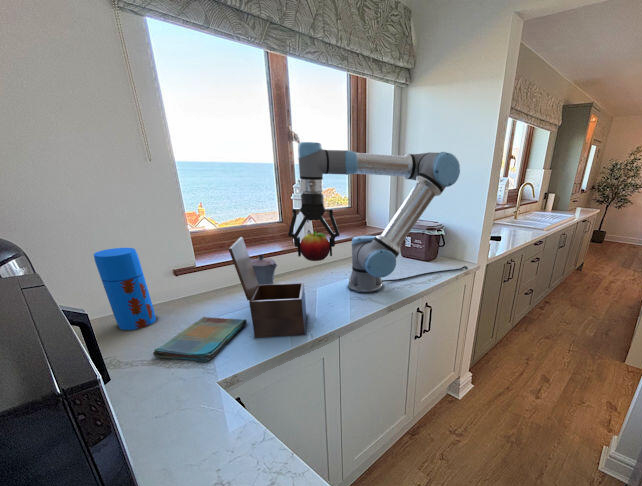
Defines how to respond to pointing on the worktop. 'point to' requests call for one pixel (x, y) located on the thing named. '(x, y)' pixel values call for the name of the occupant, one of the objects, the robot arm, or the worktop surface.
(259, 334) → the chest
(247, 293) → the chest lid
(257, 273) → the moka pot
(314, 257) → the fruit
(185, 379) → the worktop surface
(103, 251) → the thermos
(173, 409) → the worktop surface
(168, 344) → the dish towel
